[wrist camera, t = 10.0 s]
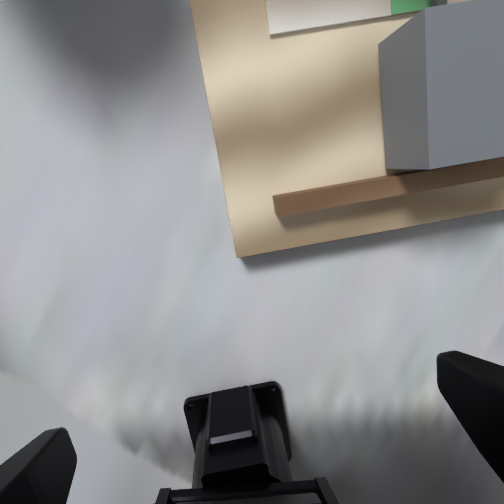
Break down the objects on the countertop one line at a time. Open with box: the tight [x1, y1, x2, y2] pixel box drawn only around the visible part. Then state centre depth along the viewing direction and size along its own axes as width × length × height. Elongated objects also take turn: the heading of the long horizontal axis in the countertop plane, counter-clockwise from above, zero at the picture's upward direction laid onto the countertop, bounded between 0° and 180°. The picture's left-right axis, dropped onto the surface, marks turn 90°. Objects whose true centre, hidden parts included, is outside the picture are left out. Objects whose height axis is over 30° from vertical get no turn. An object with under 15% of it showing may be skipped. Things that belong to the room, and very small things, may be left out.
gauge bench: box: [189, 0, 504, 258], centre depth 16 cm, size 13×25×8 cm, turn 99°
